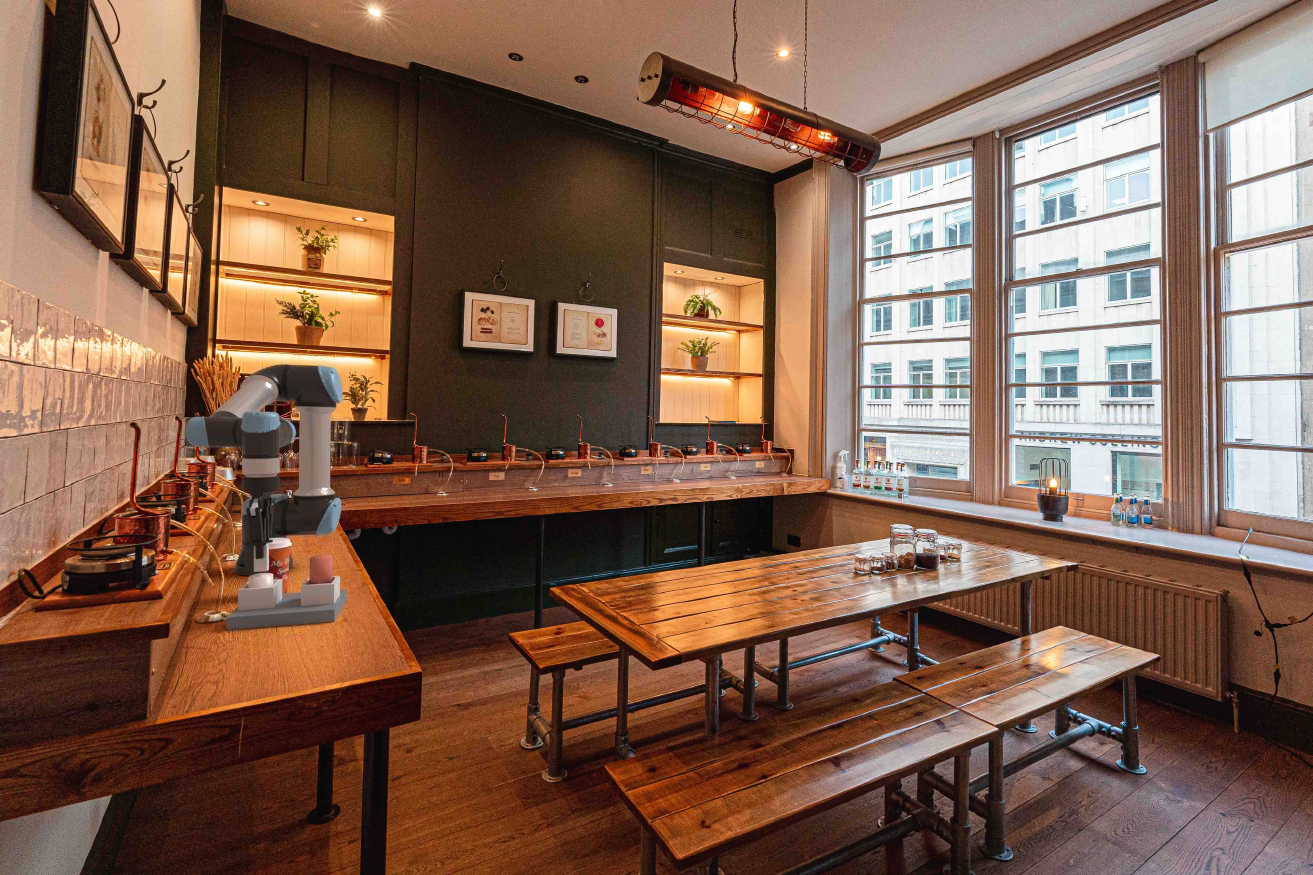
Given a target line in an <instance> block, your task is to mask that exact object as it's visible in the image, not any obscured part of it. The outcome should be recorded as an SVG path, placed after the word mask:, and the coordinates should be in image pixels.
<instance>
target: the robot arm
mask: <svg viewBox="0 0 1313 875" xmlns="http://www.w3.org/2000/svg"><path fill="white" fill-rule="evenodd" d="M240 385H241V386H240V389H238V390H237V391H236V392H235V393H233V395H232V396H230V397H229V398H228V399H227V400H226V401H225V402H224V403H223V404H222V405H221V406H219V407H218V408H217V409H216V410H215V411H214V412H213V413H211V415H210V416H203V415H202V416H195V417H191V418H190V419H189V420H188V421H187V424H186V426H185V427H186V428H185V435H186V436H185V437H186V440H187V441H188V442H187V443H189V444H190V445H191V446H193V447H198V448H199V447H200V448H202V447H203V448H207V449H208V448H241V458H242V459H241V460H242V461H239V465H240V466H242V468H241V469H242V470H241V472H242V475H244V476H242V478H241V489H242V491H243V493H249V494H251V495H250V498H248V499H247V500H245V501H244V502H243V503H242V506H241V508H242V509H241V515H240V517H241V547H240V548H241V549H240V551H239V553H238V557H237V559H236V561H235V564H234V574H236V575H239V576H244V577H245V576H248V577H249V576H251V575H254V574H259V571H268V570H269V543H272V542H273V540H270V539H271V538H288V537H289V536H292V537H293V536H321V535H322V536H323V535H330V534H332V533H334V532H335V531H336V529H337V527H338V526H339V525H338V524H339V522H340V517H341V514H342V499H341V498H340V497H336V491H334V490H333V488H331V436H332V434H331V433H332V432H331V431H332V429H331V428H332V427H331V426H332V424H331V423H332V421H331V420H332V418H331V417H332V413H333V412H334V411H335V410H337V404H341V403H342V402H343V384H342V380H341V377H340V374H339V371H338V370H337V369H336V368H334V367H333V366H325V365H310V364H309V365H307V364H287V363H285V364H283V363H281V364H275V365H274V364H273V365H270V366H266V367H264V368H261V369H259V370H257V371H255V372H252V373H251V374H250V375H248V376H247V377H246V378H244V380H243V381H242V382H241V384H240ZM275 402H292V403H293V408H294V409H295V410H296V411H298V413H299V443H298V444H299V447H298V448H299V452H298V454H299V455H298V457H299V458H298V459H299V460H298V470H299V471H298V489H297V490H296V491H295V492H294V493H293V496H292V498H288V495H287V493H275V494H272V493H274V492H277V491H279V490H280V482H281V481H280V476H279V475H278V474H280V472H281V470H280V469H281V468H280V467H281V466H280V463H281V462H280V458H281V457H280V448H283V447H286V446H288V445H289V444H291V443H292V442H293V441H294V439H295V438H296V434H297V432H296V427H295V425H294V424H293V423H292V422H291V421H290V420H288V419H285V418H282V417H280V414H279V413H277V412H274V411H261V410H263V408H264V407H266V406H268V405H271V404H273V403H275ZM267 543H268V544H267ZM293 567H294V559H293V556H292V553H291V552H290V558H289V570H291V569H292V568H293Z"/></svg>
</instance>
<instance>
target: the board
mask: <svg viewBox="0 0 1313 875" xmlns="http://www.w3.org/2000/svg"><path fill="white" fill-rule="evenodd" d="M347 601H348V590H347V589H341V576H340V575H332V583H328V584H311V585H310V577H307V579H306V580H305V581H304V582H303V583H302V584H301V586H300V592H291V593H290V592H287V593H285V594H282V579H277V580H273V585H272V586H271V587H261V588H248V581H247V582H246V583H244V585H242V586H241V587H239V589H238V590H237V607H236V608H235V609H234V610H233V611H231V613H230V614H228V615H227V616H226V631H232V630H244V629H245V630H246V629H257V628H259V629H260V628H271V627H282V626H294V625H310V624H321V623H331V622H332V623H333V622H335V621H336V620H337V618H338V616H339V614H340V613H341V611H342V609H343V608H344V606H345V605H346V603H347Z"/></svg>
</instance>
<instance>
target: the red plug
mask: <svg viewBox="0 0 1313 875" xmlns="http://www.w3.org/2000/svg"><path fill="white" fill-rule="evenodd" d="M333 558H334V556H333V555H331V554H319V555H313V556H310V557H309V578H310V585H311V584H328V583H332V576H334V575H333V569H334V568H333V566H334V565H333Z"/></svg>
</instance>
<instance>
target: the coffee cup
mask: <svg viewBox="0 0 1313 875" xmlns="http://www.w3.org/2000/svg"><path fill="white" fill-rule="evenodd" d="M270 540H273V542H272V543H269V570H268V571H259V574H260V573H272V574H273V580H277V579H282V594H285V593H288V592H287V591H288V584H289V583H288V582H289V571H290V569H289V558H290V553H291V546H292V544H293V543H292V542H291V540H290V538H288V537H287V538H271V539H270ZM267 544H268V543H267Z"/></svg>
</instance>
